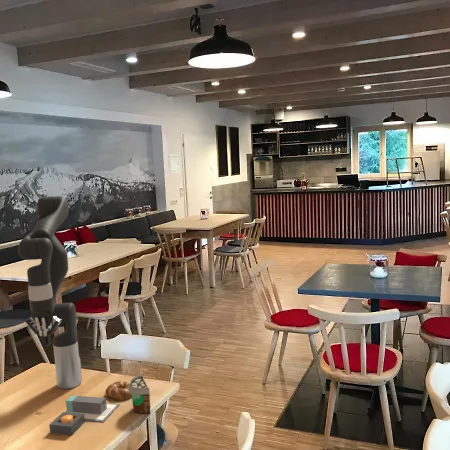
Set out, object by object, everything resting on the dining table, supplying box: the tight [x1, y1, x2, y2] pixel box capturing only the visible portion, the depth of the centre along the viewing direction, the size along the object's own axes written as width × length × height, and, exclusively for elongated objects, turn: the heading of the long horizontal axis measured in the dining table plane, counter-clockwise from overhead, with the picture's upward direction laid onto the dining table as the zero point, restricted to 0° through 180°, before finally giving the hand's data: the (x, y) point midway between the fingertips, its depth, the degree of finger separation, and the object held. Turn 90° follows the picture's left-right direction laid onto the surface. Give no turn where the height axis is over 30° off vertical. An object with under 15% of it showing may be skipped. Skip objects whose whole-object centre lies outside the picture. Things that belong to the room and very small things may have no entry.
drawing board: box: [65, 402, 120, 423], centre depth 172 cm, size 12×17×1 cm
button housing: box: [48, 411, 86, 436], centre depth 162 cm, size 8×8×3 cm
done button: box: [61, 415, 73, 423], centre depth 162 cm, size 4×4×2 cm
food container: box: [128, 374, 151, 415], centre depth 171 cm, size 12×6×10 cm, turn 21°
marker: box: [65, 395, 107, 414], centre depth 172 cm, size 13×4×4 cm, turn 76°
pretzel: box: [105, 380, 132, 401], centre depth 184 cm, size 12×11×4 cm
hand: (46, 345), depth 166 cm, fingers closed
